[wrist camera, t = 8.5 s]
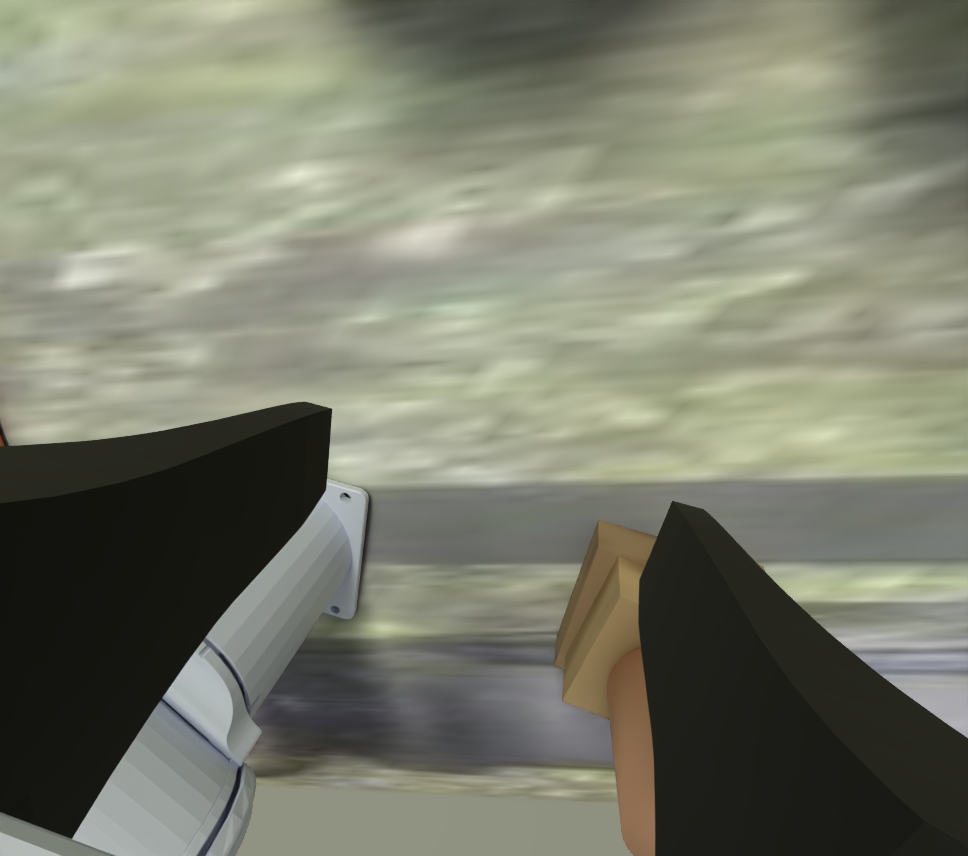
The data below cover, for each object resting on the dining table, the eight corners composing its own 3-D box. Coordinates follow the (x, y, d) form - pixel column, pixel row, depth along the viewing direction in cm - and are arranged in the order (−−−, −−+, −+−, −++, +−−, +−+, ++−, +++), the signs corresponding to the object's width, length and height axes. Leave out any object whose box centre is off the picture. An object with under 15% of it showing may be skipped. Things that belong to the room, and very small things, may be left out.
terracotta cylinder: (592, 717, 21) (602, 859, 16) (627, 629, 19) (650, 760, 14) (706, 747, 21) (750, 899, 16) (753, 661, 19) (817, 804, 14)
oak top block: (565, 655, 24) (561, 701, 21) (618, 555, 21) (620, 596, 19) (694, 704, 23) (703, 756, 21) (764, 609, 21) (783, 658, 18)
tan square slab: (557, 627, 26) (554, 666, 24) (598, 513, 23) (598, 546, 21) (698, 670, 25) (707, 714, 23) (759, 558, 22) (776, 597, 20)
